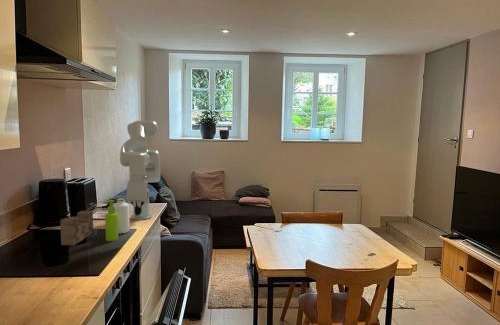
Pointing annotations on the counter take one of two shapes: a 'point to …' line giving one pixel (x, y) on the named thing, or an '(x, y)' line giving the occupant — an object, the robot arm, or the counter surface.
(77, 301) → the counter surface
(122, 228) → the potion bottle
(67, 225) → the bottle rest
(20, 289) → the counter surface
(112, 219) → the soap dispenser
